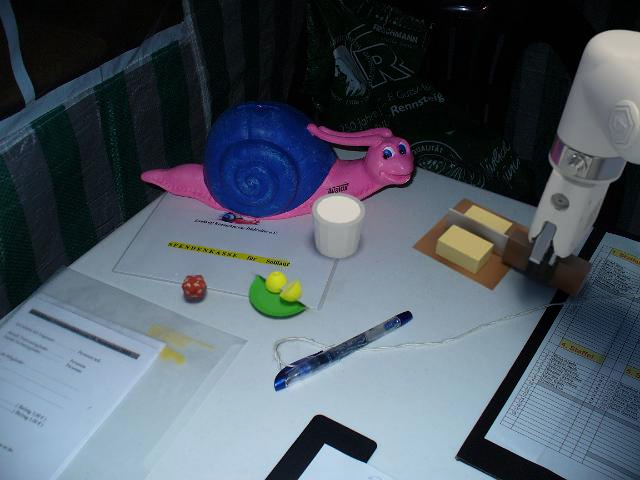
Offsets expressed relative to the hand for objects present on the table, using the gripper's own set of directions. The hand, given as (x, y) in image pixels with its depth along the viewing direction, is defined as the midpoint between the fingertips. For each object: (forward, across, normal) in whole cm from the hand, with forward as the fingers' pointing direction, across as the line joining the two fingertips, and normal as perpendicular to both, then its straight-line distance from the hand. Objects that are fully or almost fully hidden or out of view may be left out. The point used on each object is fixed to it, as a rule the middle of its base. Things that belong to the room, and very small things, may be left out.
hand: (542, 272), depth 76 cm
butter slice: (+1, +3, +10) cm, 10 cm away
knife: (0, 0, +5) cm, 5 cm away
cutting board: (+2, +1, +10) cm, 10 cm away
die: (+2, -30, +32) cm, 44 cm away
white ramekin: (+2, -12, +24) cm, 27 cm away
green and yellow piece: (+2, -23, +24) cm, 33 cm away
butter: (+1, -3, +10) cm, 10 cm away
